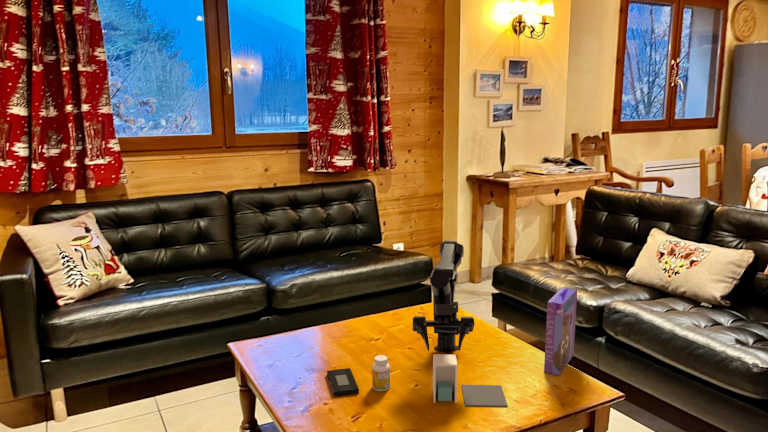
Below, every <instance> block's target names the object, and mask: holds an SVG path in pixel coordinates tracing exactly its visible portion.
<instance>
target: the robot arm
mask: <svg viewBox="0 0 768 432" xmlns="http://www.w3.org/2000/svg"><path fill="white" fill-rule="evenodd" d="M438 254H439V257H440V260H439V262H438V263H435V265H434V268H433V269H432V271H431V274H430V277H429V280H430V281H429V282H430V286H431V292H432V297H433V298H432V299H433V300H432V301H433V302H432V304H433V307H432V308H433V320H432V319H431V320H430V319H429V320H427V319H426V316H425V315H424V316H422V315H421V316H419V315H418V316H416V315H415V316H413V317H412V331H413V332H416V334H418V335H420V336H421V338H422V341H423V342H424V345H425V347H426V350H427V352H429V351H430V342H429V334H428V328H433V334H437V339H436V341H437V342H436V343H437V344H436V346H433V349H434V350H437V351H440V352H442V353H445V354H450V353H452V352H454V351H456V350H458V352H460V351H461V348H462V345H463V341H464V339H465V337H466V335H469V334H470V333H471V332H472V333H473V332H474V328H475V319H474V317H473V316H460V319H459V317H458V313H459V302H458V301H455V293H456V292H455V291H456V282H457V281H458V277H459V276H458V272H457V269H458V267H460V266H461V264H462V259H463V258H464V254H465V250H464V245H463V244H461V243H458V241H457V240H444V241H442V243H440V244H439V253H438ZM457 336H458V345H456V337H457Z"/></svg>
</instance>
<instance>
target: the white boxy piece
mask: <svg viewBox="0 0 768 432" xmlns="http://www.w3.org/2000/svg"><path fill="white" fill-rule="evenodd" d="M432 357H433V360H432V397H433V398H432V399H433V403H434V404H435V403H436V400H437V399H436V395H437V389H438V382H451V385H452V394H453V399H454V404H457V402H458V398H457V397H458V396H457V395H458V360H457V355H456V354H448V353H445V354H444V353H442V354H440V353H439V354H438V353H437V354H436V353H435V354H434V353H433V355H432Z"/></svg>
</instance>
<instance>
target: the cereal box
mask: <svg viewBox="0 0 768 432" xmlns="http://www.w3.org/2000/svg"><path fill="white" fill-rule="evenodd" d="M577 301H578V288H575V287H569V286H562V287H561V288H560V289H559V290H558V291H557V292H556V293H555V294H554V295H553V296H552V297H551V298H549V300H548V301H547V305H546V306H547V307H546V322H545V328H546V329H545V345H544V363H543V364H544V367H543V373H545V374H549V375H553V376H558V377H560V376H561V374H562V372H563V371H564V369H565V368H566V367H567V365H568V364H569V363H570V361H571V360H572V358H573V357H574V352H575V351H574V350H575V336H576V333H575V332H576V318H577V303H578V302H577Z"/></svg>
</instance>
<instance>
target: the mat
mask: <svg viewBox="0 0 768 432" xmlns="http://www.w3.org/2000/svg"><path fill="white" fill-rule="evenodd" d="M461 390H462V394H463V395H462V397H463V402H464V405H465V407H491V408H493V407H497V408H498V407H499V408H502V407H505V408H508V403H507V399H506V396H505V393H504V390H503V386H502V385H501V384H461Z"/></svg>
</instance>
